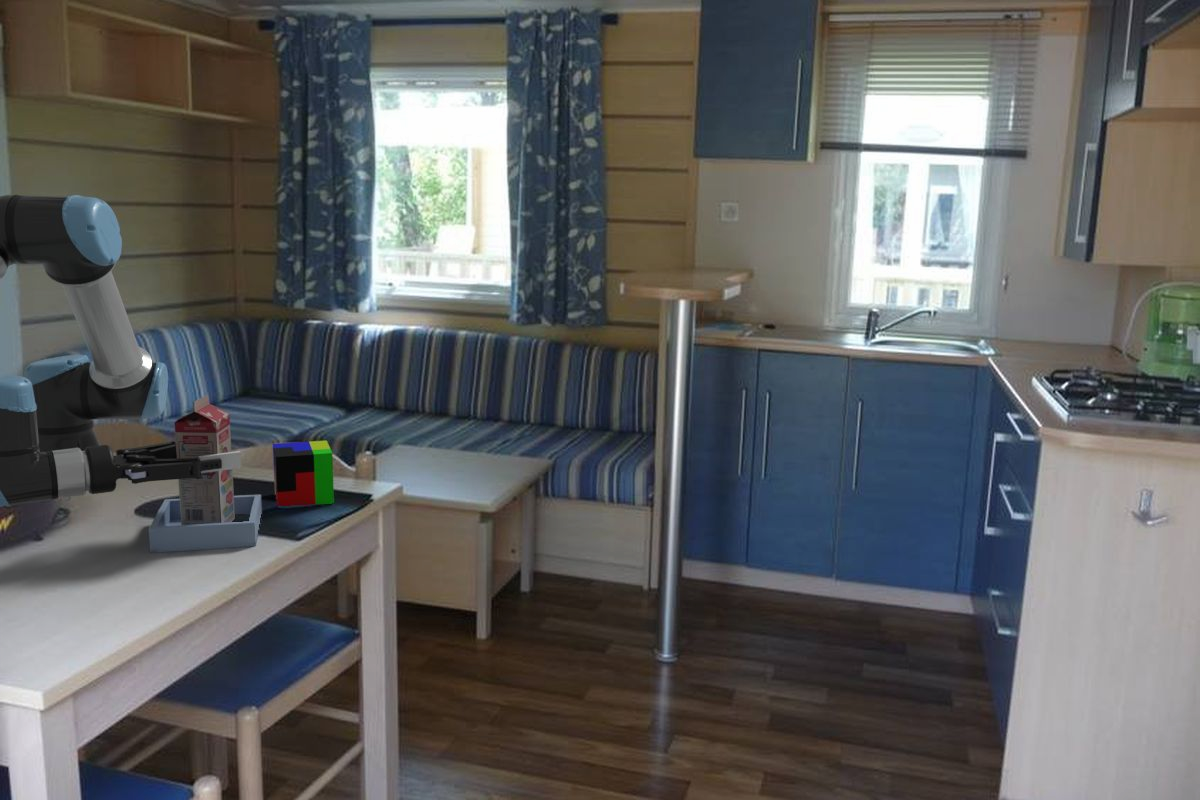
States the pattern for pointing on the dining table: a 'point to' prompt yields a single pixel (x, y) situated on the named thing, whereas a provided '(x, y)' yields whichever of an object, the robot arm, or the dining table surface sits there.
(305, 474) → the puzzle toy
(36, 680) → the dining table surface
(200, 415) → the juice carton
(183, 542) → the bin
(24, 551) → the dining table surface
